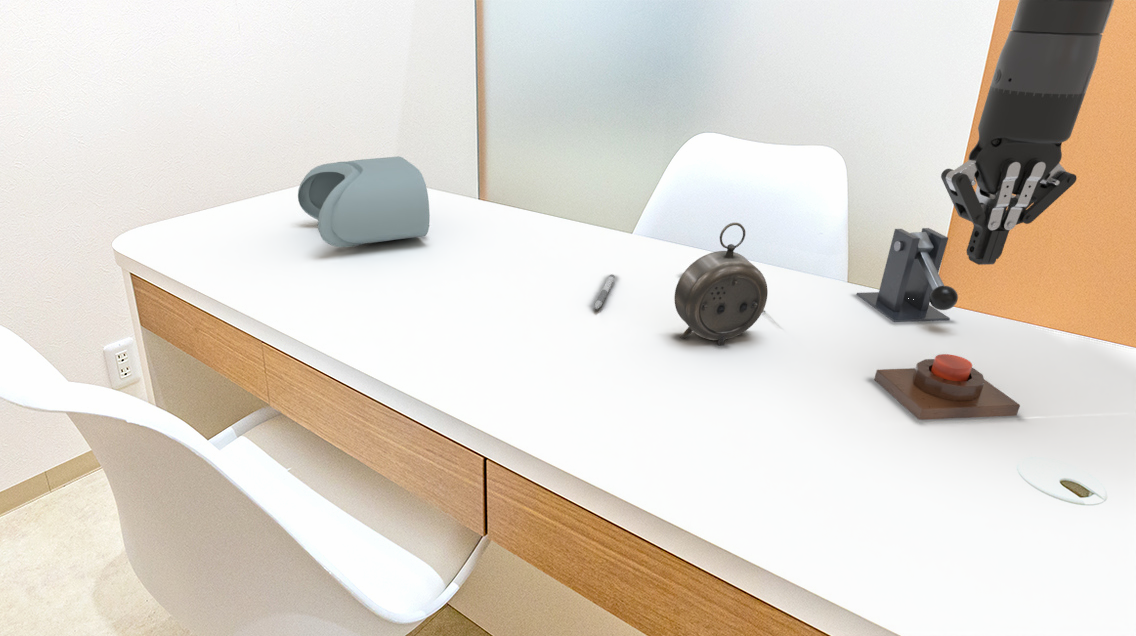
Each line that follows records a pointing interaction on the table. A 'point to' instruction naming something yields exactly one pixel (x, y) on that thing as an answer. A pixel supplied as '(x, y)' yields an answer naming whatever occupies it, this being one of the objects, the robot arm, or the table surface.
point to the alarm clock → (721, 294)
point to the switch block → (945, 394)
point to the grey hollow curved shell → (366, 201)
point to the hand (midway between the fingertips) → (980, 262)
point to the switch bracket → (907, 280)
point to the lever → (934, 275)
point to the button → (951, 367)
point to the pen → (604, 292)
